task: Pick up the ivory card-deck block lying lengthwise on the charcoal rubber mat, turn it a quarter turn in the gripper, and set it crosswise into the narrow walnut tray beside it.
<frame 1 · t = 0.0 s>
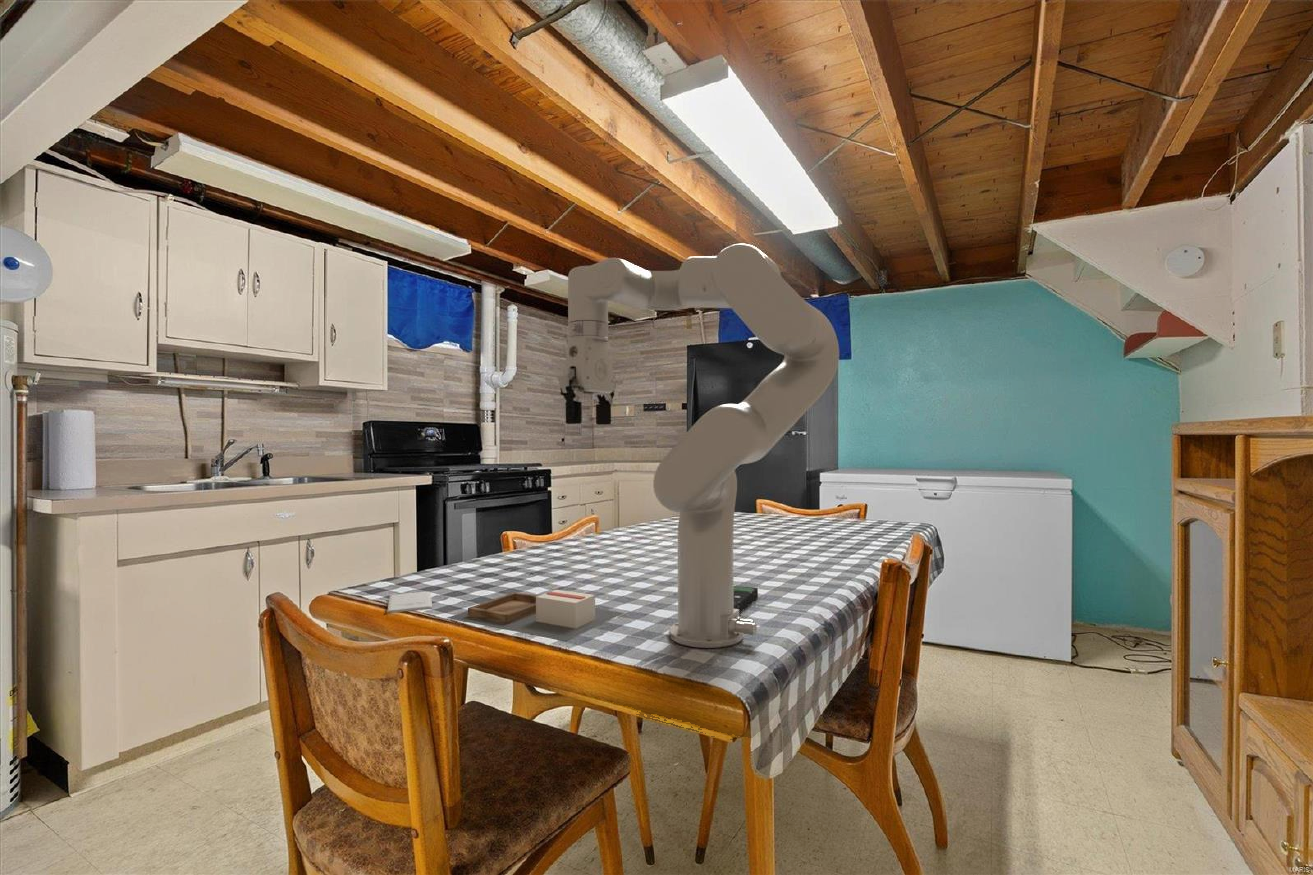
hand: (589, 424, 115), 37 cm above the table, tool pointing down, fingers open, 9 cm apart
tray: (512, 611, 118), resting on mat
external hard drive: (410, 608, 125), on the table
mat: (536, 617, 115), on the table
deck block: (565, 620, 112), resting on mat
disk drive: (723, 607, 124), on the table
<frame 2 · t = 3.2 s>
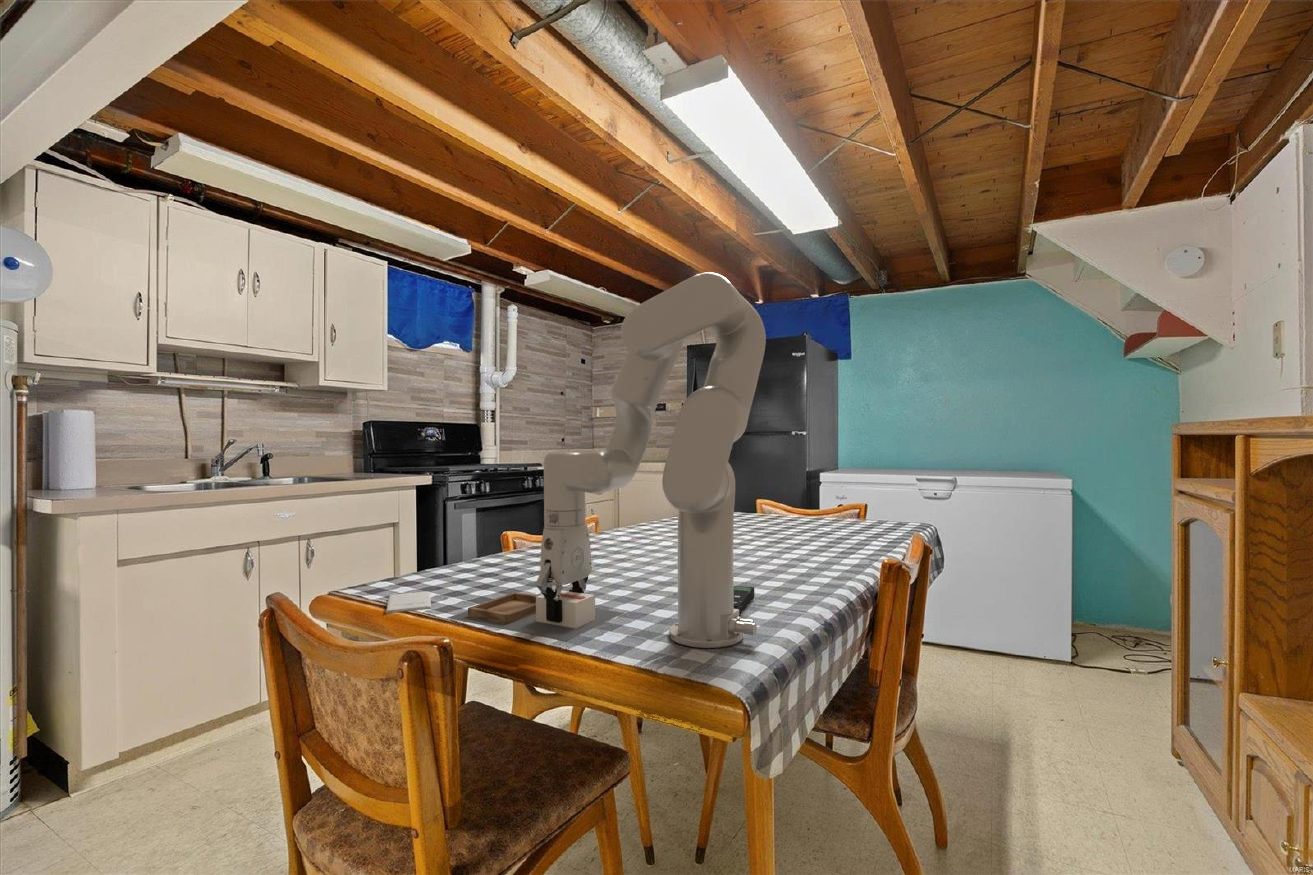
hand: (565, 615, 112), 1 cm above the table, tool pointing down, fingers closed on deck block, 6 cm apart
deck block: (565, 620, 112), resting on mat, touching gripper
everything else where it was.
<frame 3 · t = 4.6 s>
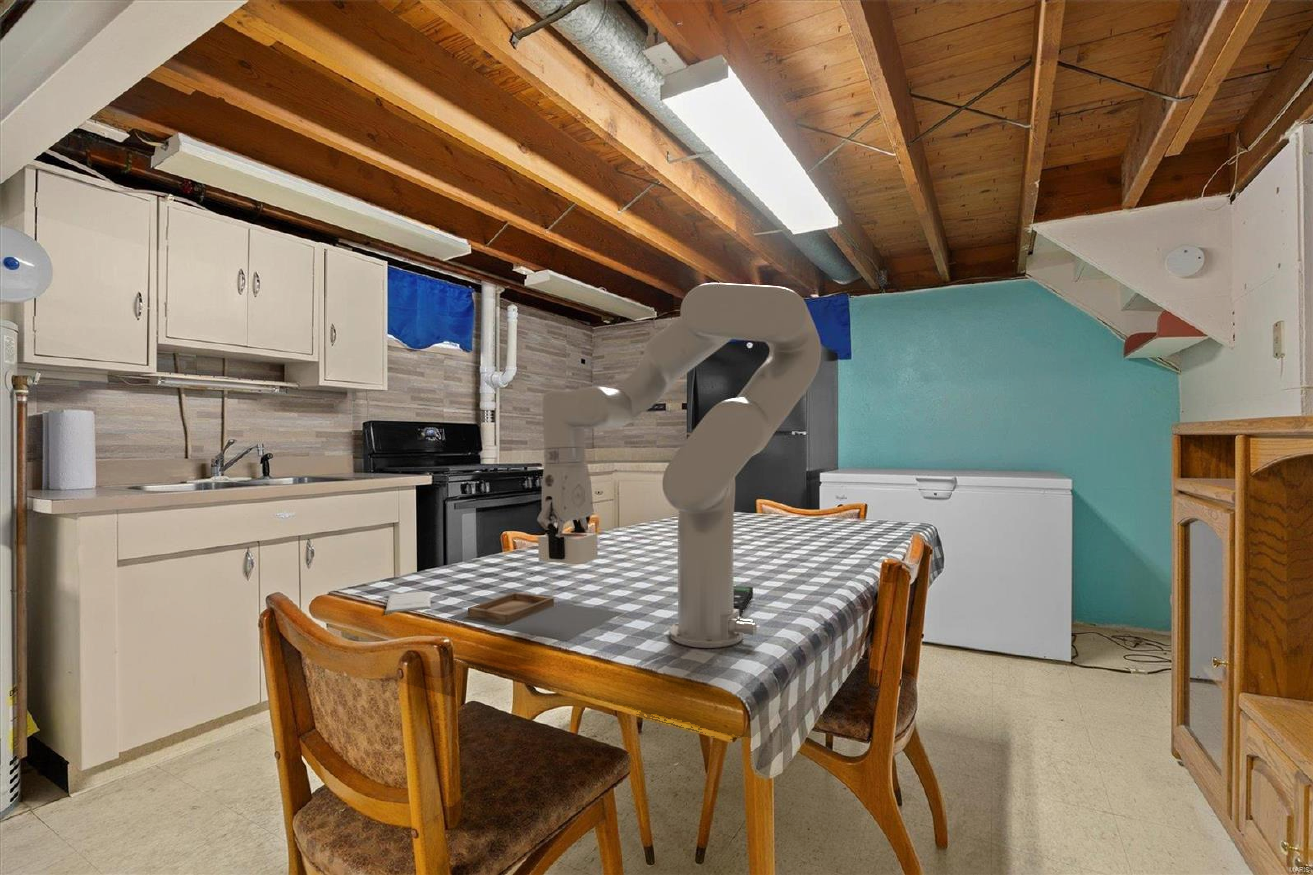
hand: (568, 554, 112), 13 cm above the table, tool pointing down, fingers closed on deck block, 6 cm apart
deck block: (568, 559, 112), point 12 cm above the table, touching gripper
everything else where it was.
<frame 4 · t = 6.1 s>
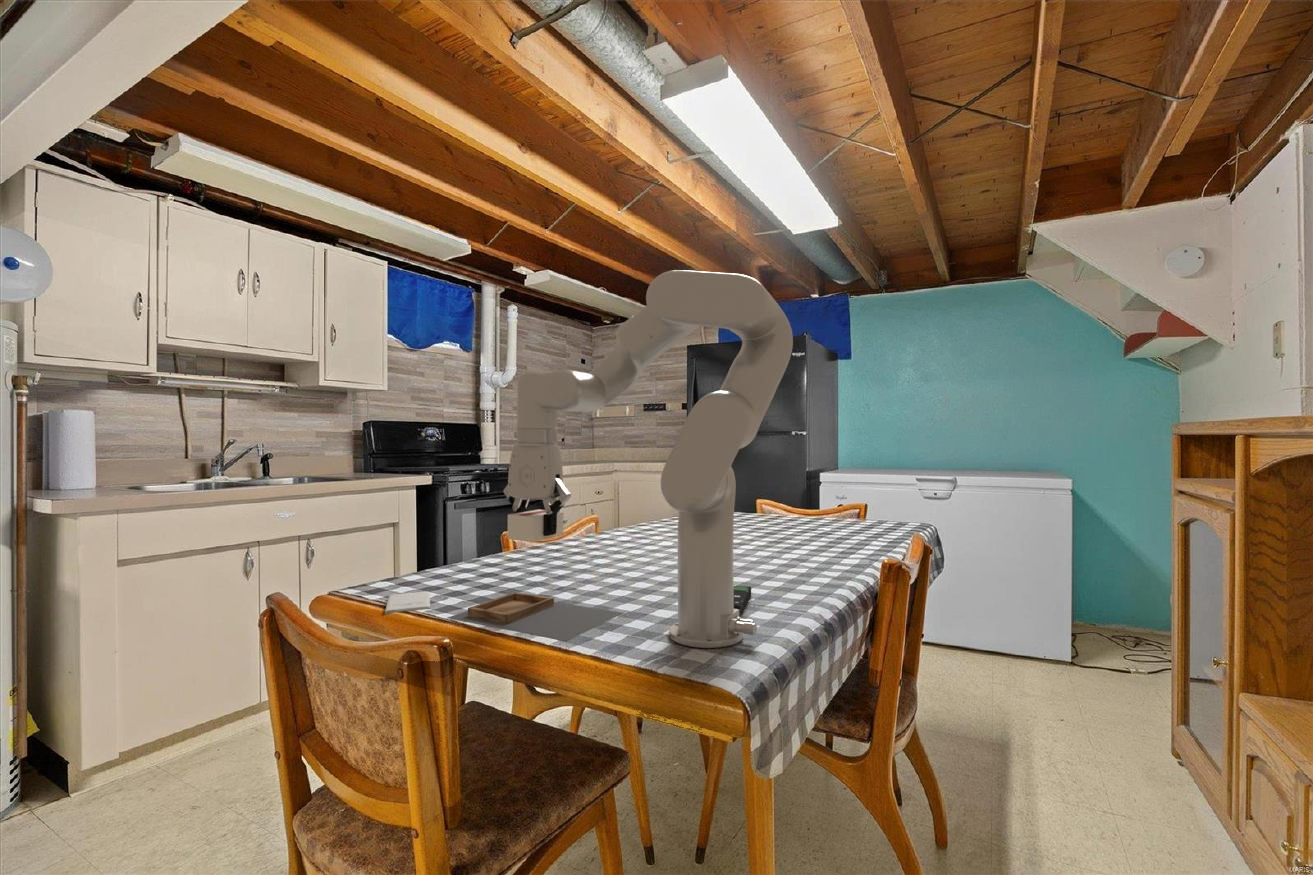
hand: (535, 532, 115), 16 cm above the table, tool pointing down, fingers closed on deck block, 6 cm apart
deck block: (535, 536, 115), point 15 cm above the table, touching gripper
everything else where it was.
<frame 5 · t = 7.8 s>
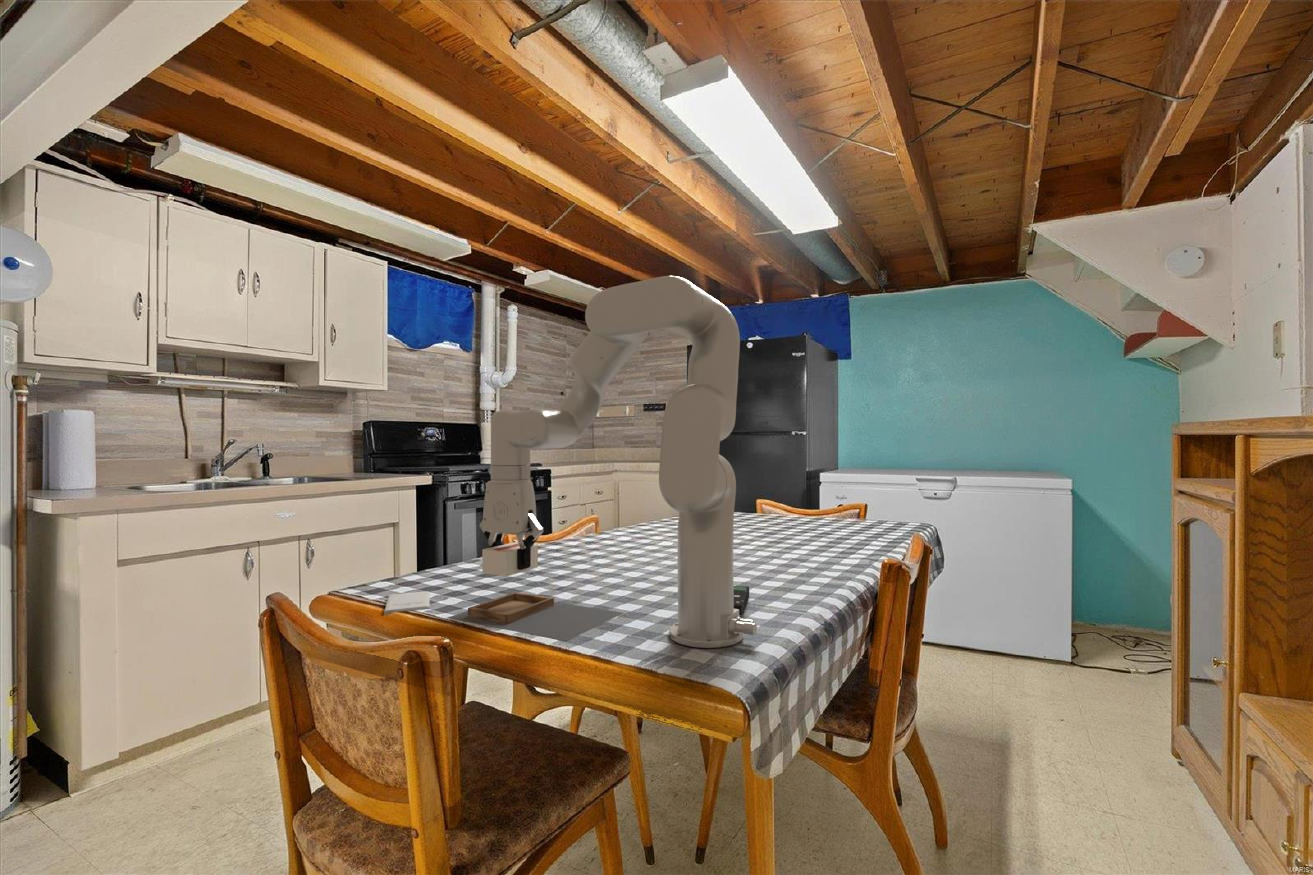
hand: (510, 565, 118), 9 cm above the table, tool pointing down, fingers closed on deck block, 6 cm apart
deck block: (510, 570, 118), point 8 cm above the table, touching gripper
when the fingers open (3 cm above the table, at t = 9.4 s): deck block drops 1 cm, resting on tray.
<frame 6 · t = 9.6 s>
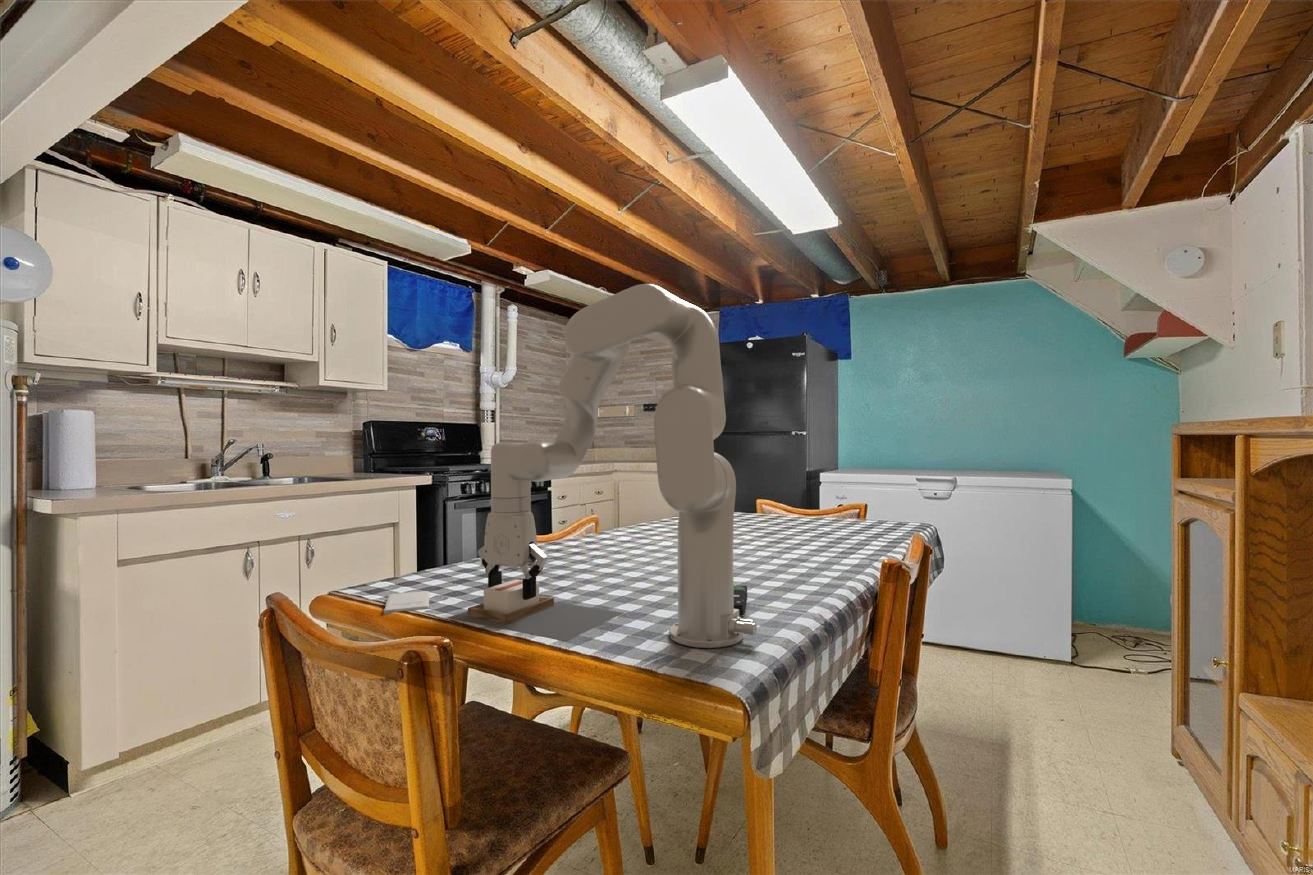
hand: (512, 595, 118), 4 cm above the table, tool pointing down, fingers open, 8 cm apart
deck block: (512, 609, 118), point 1 cm above the table, touching tray
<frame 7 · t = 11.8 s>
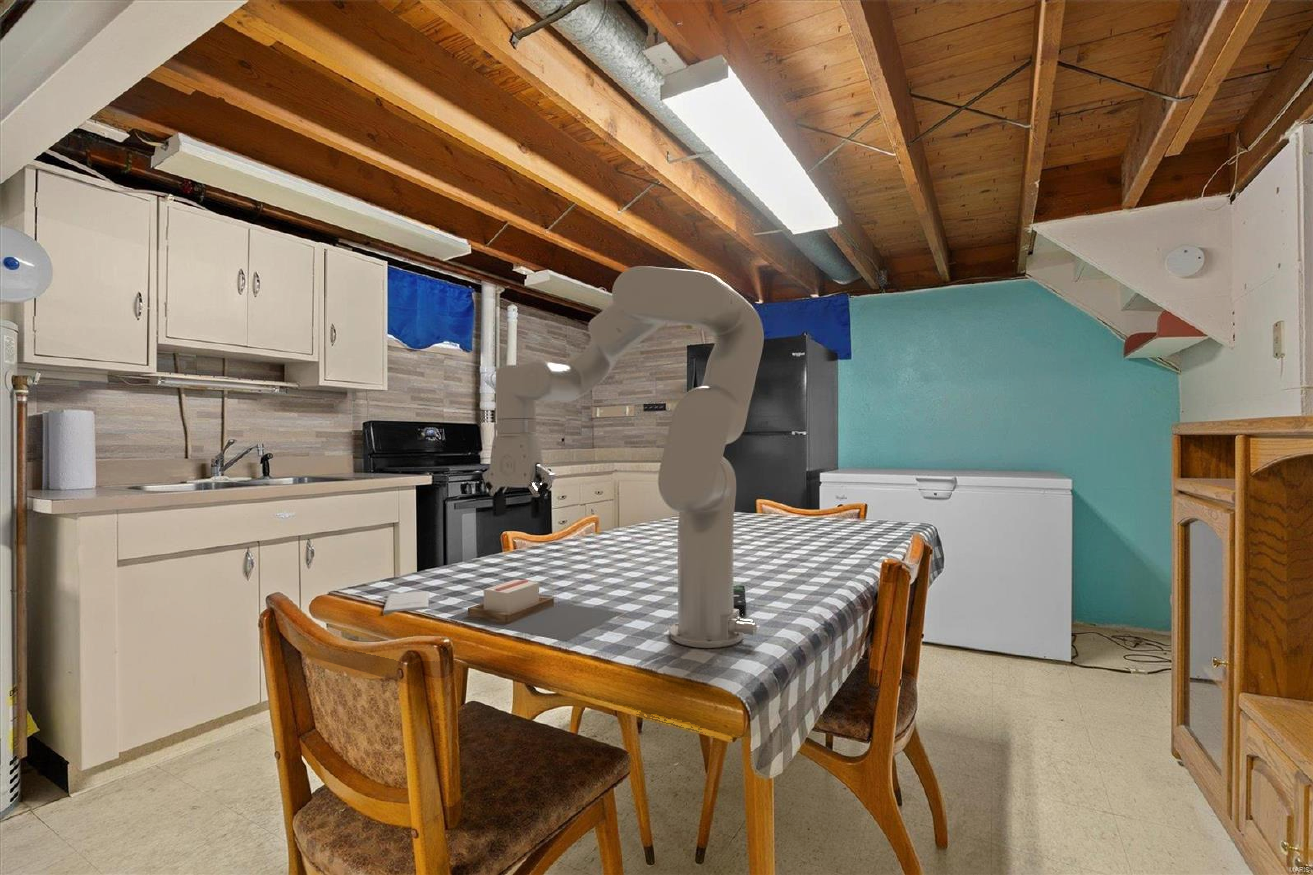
hand: (518, 516, 119), 19 cm above the table, tool pointing down, fingers open, 9 cm apart
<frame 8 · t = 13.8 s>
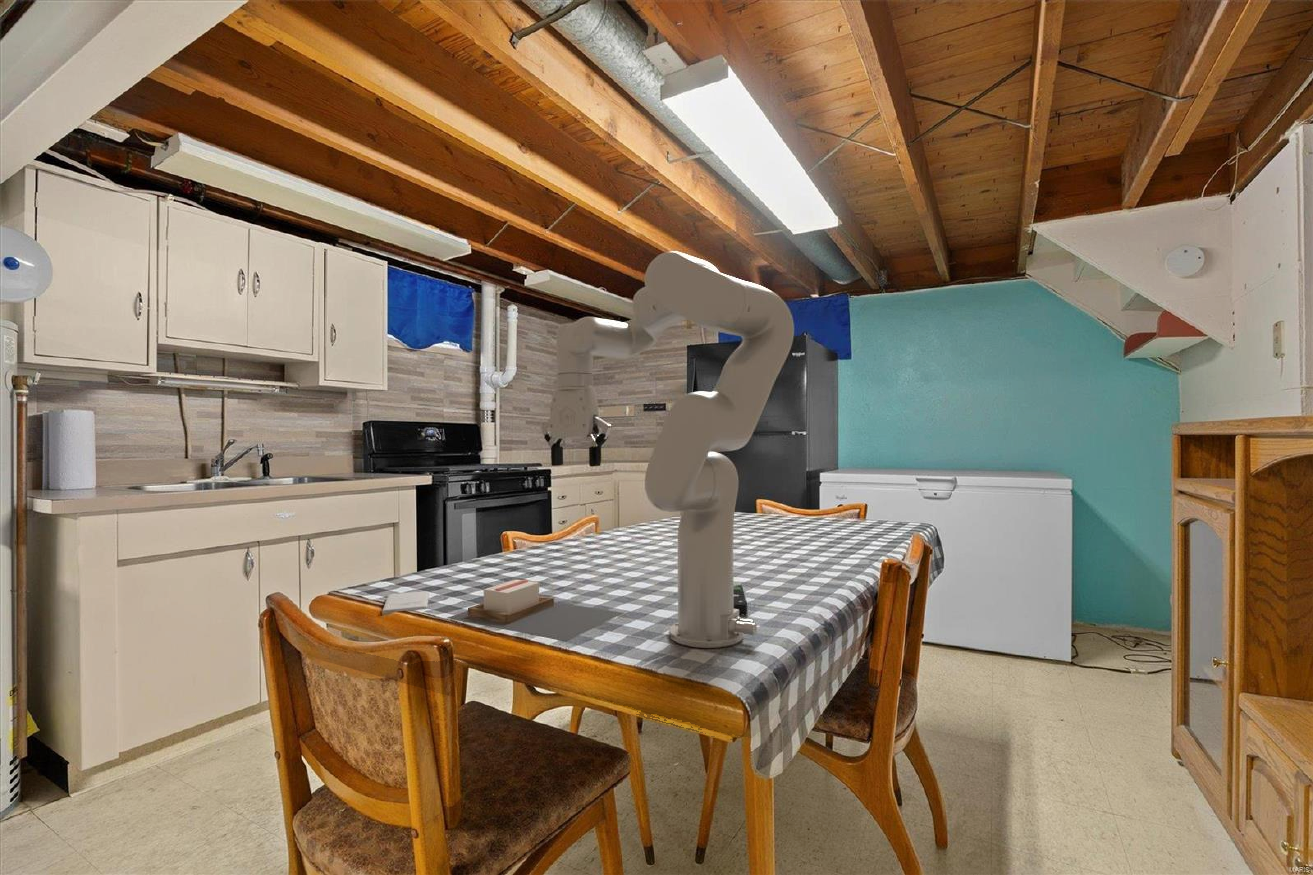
hand: (575, 465, 127), 28 cm above the table, tool pointing down, fingers open, 9 cm apart
at the end: deck block 0.0 cm off-centre on the tray, point 0.4 cm above the tray's base; deck block tilted 0°; the gripper is holding nothing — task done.
